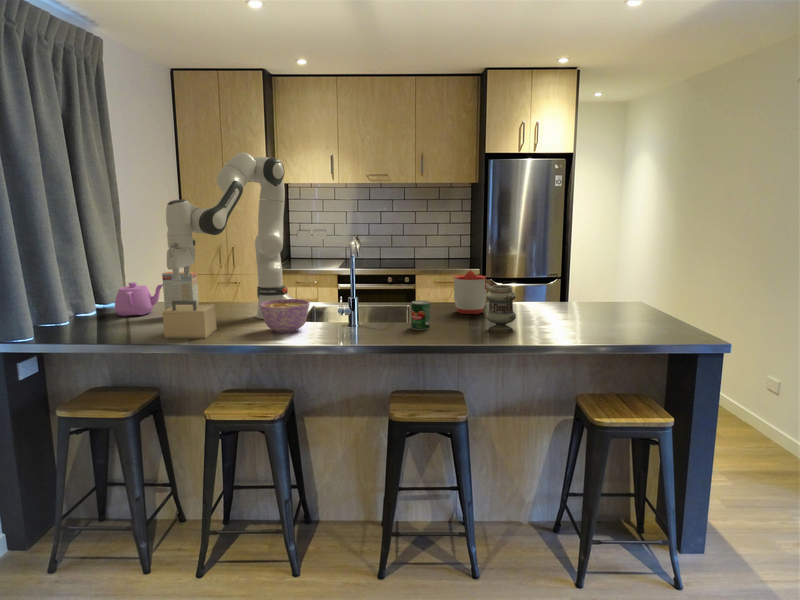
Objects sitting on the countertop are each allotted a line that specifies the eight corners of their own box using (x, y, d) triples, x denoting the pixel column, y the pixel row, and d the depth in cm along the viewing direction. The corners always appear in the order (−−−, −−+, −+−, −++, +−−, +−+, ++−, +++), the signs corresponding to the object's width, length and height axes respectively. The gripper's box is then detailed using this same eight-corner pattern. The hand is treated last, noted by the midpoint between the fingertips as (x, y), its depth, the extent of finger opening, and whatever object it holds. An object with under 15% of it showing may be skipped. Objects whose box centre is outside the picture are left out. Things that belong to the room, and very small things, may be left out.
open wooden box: (216, 330, 240) (215, 306, 238) (205, 338, 226) (204, 313, 225) (177, 330, 240) (176, 306, 238) (164, 338, 226) (162, 313, 224)
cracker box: (200, 316, 270) (197, 271, 266) (194, 318, 264) (191, 273, 260) (171, 315, 271) (168, 271, 268) (165, 318, 265) (161, 272, 262)
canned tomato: (410, 329, 239) (410, 303, 237) (412, 325, 247) (412, 300, 245) (429, 330, 238) (429, 303, 236) (431, 326, 245) (431, 300, 244)
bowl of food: (267, 325, 248) (266, 299, 246) (314, 325, 248) (313, 298, 246) (255, 336, 229) (254, 307, 227) (306, 336, 228) (305, 307, 226)
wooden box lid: (215, 306, 238) (214, 295, 238) (204, 312, 225) (203, 301, 224) (176, 306, 238) (175, 295, 237) (162, 313, 224) (161, 301, 224)
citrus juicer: (489, 316, 265) (490, 272, 262) (451, 315, 268) (452, 272, 265) (490, 309, 281) (491, 268, 277) (454, 308, 284) (455, 268, 280)
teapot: (109, 320, 262) (106, 287, 259) (120, 311, 282) (117, 280, 280) (163, 317, 267) (161, 285, 265) (170, 309, 287) (168, 279, 285)
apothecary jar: (485, 326, 245) (486, 283, 242) (515, 326, 243) (516, 284, 240) (485, 332, 233) (486, 288, 230) (516, 333, 231) (517, 288, 228)
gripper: (178, 244, 211) (180, 282, 213) (197, 240, 231) (199, 275, 234) (160, 244, 211) (163, 282, 213) (181, 240, 231) (183, 275, 234)
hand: (182, 278), depth 224 cm, fingers open, 8 cm apart
